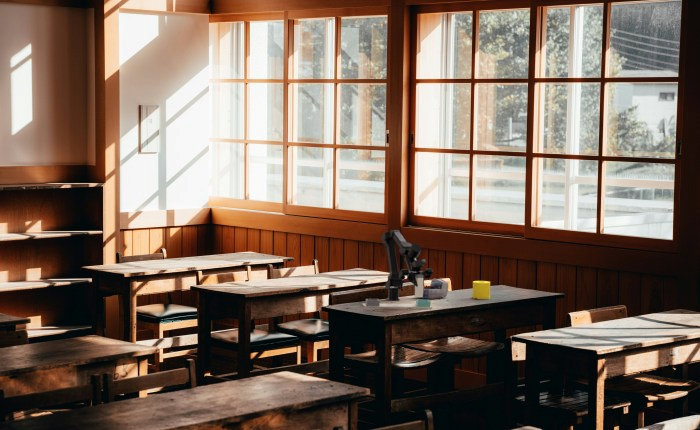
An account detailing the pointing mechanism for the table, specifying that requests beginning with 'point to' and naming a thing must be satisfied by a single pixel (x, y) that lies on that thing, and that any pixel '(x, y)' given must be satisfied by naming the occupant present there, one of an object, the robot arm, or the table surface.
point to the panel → (419, 304)
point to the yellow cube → (481, 289)
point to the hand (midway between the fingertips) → (420, 286)
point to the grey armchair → (435, 289)
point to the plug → (419, 286)
